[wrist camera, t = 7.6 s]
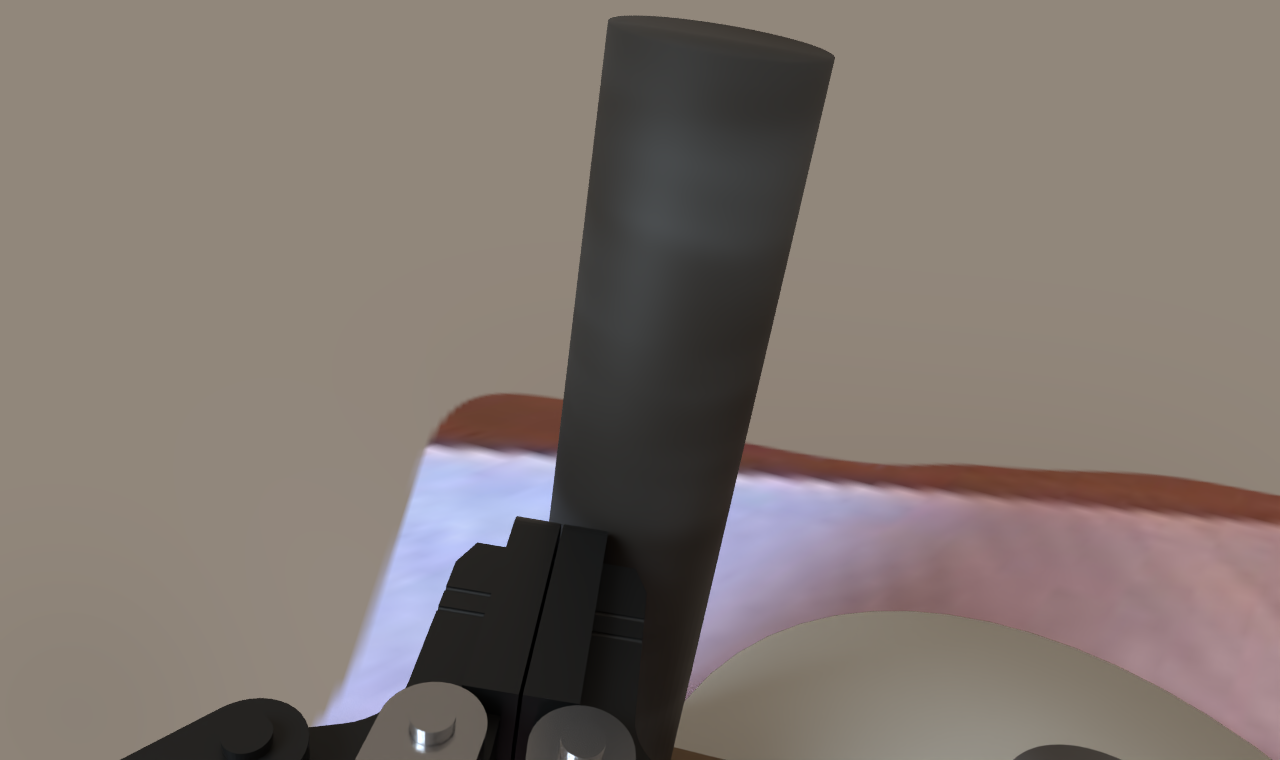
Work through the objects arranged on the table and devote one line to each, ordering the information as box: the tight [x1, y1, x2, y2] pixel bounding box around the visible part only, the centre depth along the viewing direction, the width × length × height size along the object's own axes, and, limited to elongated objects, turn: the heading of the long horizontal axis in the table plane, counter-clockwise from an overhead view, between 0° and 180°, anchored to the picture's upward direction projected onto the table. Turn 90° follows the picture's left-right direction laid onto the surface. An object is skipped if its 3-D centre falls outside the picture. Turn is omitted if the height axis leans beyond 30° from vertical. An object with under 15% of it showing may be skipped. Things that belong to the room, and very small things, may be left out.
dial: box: [549, 16, 1121, 760], centre depth 15 cm, size 20×4×15 cm, turn 80°
